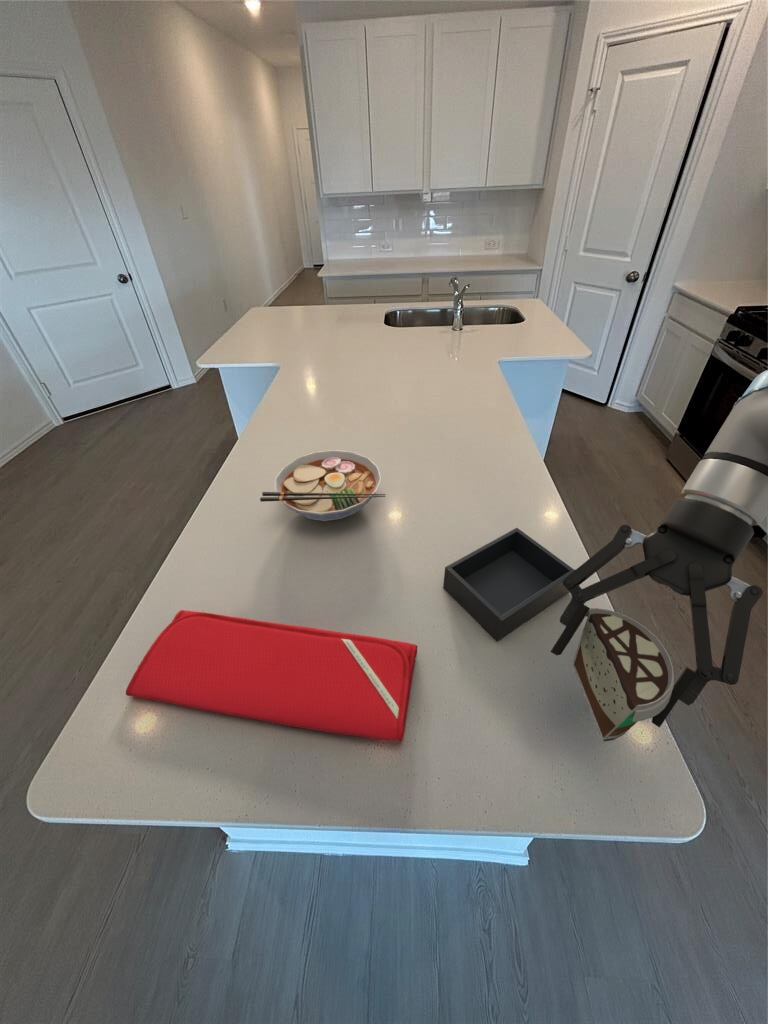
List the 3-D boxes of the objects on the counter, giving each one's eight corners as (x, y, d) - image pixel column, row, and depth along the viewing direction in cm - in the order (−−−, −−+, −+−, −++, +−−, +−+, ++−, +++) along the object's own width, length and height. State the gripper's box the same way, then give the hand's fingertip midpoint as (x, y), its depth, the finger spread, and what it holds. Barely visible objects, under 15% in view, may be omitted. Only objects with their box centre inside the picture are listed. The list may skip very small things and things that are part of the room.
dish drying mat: (184, 613, 77) (177, 599, 74) (417, 648, 70) (418, 635, 68) (128, 699, 65) (117, 687, 62) (402, 752, 58) (402, 740, 56)
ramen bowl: (388, 475, 107) (387, 446, 101) (385, 540, 89) (384, 510, 84) (286, 475, 108) (280, 446, 102) (264, 540, 90) (255, 510, 85)
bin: (568, 592, 78) (577, 571, 74) (496, 641, 71) (502, 621, 67) (512, 548, 87) (516, 527, 83) (442, 588, 79) (444, 566, 76)
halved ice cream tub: (665, 754, 47) (707, 709, 40) (608, 756, 47) (640, 711, 40) (616, 651, 56) (643, 602, 50) (568, 653, 56) (589, 604, 50)
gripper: (843, 573, 43) (716, 757, 45) (611, 477, 56) (521, 623, 58) (873, 565, 37) (724, 778, 39) (604, 458, 50) (503, 622, 52)
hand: (602, 685), depth 48 cm, fingers closed on halved ice cream tub, 11 cm apart
